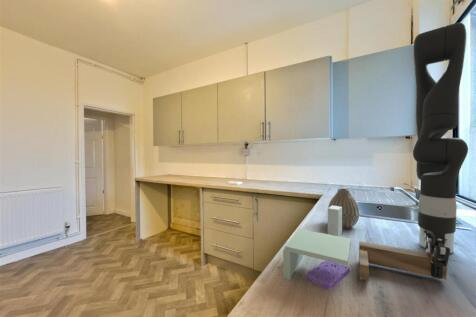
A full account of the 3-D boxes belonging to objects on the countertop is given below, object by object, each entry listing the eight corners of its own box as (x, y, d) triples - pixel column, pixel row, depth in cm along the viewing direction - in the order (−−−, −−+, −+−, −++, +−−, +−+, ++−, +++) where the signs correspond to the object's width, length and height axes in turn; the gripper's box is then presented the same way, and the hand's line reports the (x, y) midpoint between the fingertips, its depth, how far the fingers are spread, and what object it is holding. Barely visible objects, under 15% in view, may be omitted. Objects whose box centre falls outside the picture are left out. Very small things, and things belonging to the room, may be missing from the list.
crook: (359, 256, 69) (359, 240, 69) (441, 272, 59) (442, 255, 59) (359, 278, 57) (360, 260, 57) (463, 304, 48) (464, 282, 47)
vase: (330, 230, 95) (331, 191, 94) (325, 220, 108) (326, 186, 107) (363, 233, 92) (364, 192, 91) (354, 222, 105) (354, 187, 104)
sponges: (350, 273, 63) (350, 267, 63) (330, 292, 54) (330, 285, 54) (326, 263, 68) (326, 258, 68) (305, 279, 60) (305, 273, 60)
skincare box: (331, 232, 92) (331, 205, 92) (342, 235, 90) (342, 206, 89) (327, 236, 88) (327, 208, 87) (338, 239, 85) (338, 209, 85)
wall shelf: (297, 254, 73) (297, 228, 72) (350, 268, 65) (351, 238, 64) (282, 277, 60) (283, 245, 59) (346, 297, 52) (347, 261, 51)
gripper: (466, 222, 50) (463, 293, 51) (446, 207, 62) (444, 264, 63) (424, 217, 54) (422, 283, 55) (413, 204, 66) (411, 258, 67)
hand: (434, 273), depth 59 cm, fingers closed on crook, 3 cm apart
